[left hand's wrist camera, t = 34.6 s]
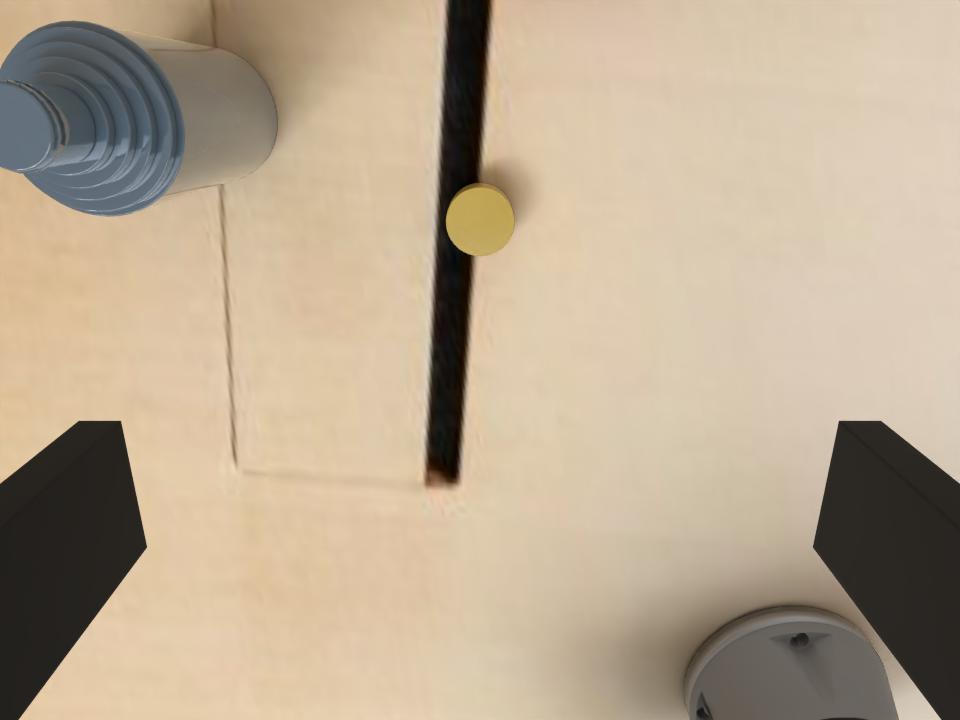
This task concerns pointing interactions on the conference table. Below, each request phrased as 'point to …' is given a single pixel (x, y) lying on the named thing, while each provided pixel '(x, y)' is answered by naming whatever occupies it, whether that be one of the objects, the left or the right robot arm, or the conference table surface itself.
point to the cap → (480, 219)
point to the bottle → (129, 117)
